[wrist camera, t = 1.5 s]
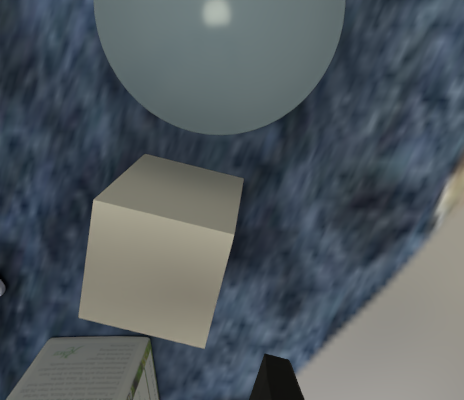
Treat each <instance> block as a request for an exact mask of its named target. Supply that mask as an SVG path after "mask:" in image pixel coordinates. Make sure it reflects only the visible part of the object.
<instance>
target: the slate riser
mask: <svg viewBox="0 0 464 400" xmlns="http://www.w3.org/2000/svg"><path fill="white" fill-rule="evenodd" d="M94 13H95V20H96V25H97V30H98V34H99V37H100V41H101V44H102V47H103V50H104V52H105V54H106V57H107V59H108V61H109V63H110V65H111V67H112V69H113V70H114V72H115V74H116V76H117V77H118V79H119V80H120V81H121V83H122V84H123V85H124V87H125V88H126V89H127V91H128V92H129V93H130V94H131V95H132V96H133V97H134V98H135V99H136V100H137V101H138V102H139V103H140V104H141V105H142V106H144V107H145V108H146V109H147V110H149V111H150V112H151V113H153V114H154V115H156V116H157V117H159V118H161V119H162V120H164V121H166V122H168V123H170V124H172V125H174V126H177V127H179V128H182V129H185V130H188V131H192V132H197V133H202V134H210V135H229V134H239V133H243V132H248V131H252V130H255V129H258V128H261V127H263V126H266V125H268V124H270V123H272V122H274V121H276V120H278V119H280V118H281V117H283V116H284V115H286V114H287V113H289V112H290V111H291V110H293V109H294V108H295V107H296V106H297V105H298V104H300V103H301V102H302V101H303V100H304V99H305V98H306V97H307V96H308V95H309V94H310V92H311V91H312V90H313V89H314V88H315V87H316V85H317V84H318V82H319V81H320V79H321V78H322V76H323V75H324V73H325V72H326V70H327V68H328V66H329V64H330V62H331V60H332V58H333V56H334V53H335V50H336V48H337V45H338V42H339V39H340V35H341V31H342V26H343V21H344V13H345V0H94Z"/></svg>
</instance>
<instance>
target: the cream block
mask: <svg viewBox="0 0 464 400" xmlns="http://www.w3.org/2000/svg"><path fill="white" fill-rule="evenodd" d="M243 181H244V178H240V177H236V176H232V175H228V174H224V173H220V172H216V171H212V170H208V169H204V168H200V167H196V166H192V165H188V164H184V163H180V162H176V161H172V160H168V159H164V158H160V157H156V156H152V155H148V154H144V155H143V156H142V157H141V158H140V159H139V160H137V161H136V162H135V163H134V164H133V165H132V166H131V167H130V168H128V169H127V170H126V171H125V172H124V173H123V174H122V175H121V176H119V177H118V178H117V179H116V180H115V181H114V182H113V183H112V184H111V185H109V186H108V187H107V188H106V189H105V190H104V191H103V192H102V193H100V194H99V195H98V196H97V197H96V198H95V199H94V200H93V207H92V215H91V223H90V231H89V239H88V246H87V254H86V262H85V270H84V277H83V285H82V293H81V301H80V309H79V316H78V318H81V319H85V320H89V321H94V322H98V323H102V324H106V325H110V326H114V327H118V328H122V329H126V330H130V331H134V332H138V333H142V334H146V335H150V336H155V337H159V338H163V339H167V340H171V341H175V342H179V343H183V344H187V345H191V346H195V347H199V348H203V349H204V348H205V345H206V341H207V337H208V333H209V329H210V326H211V322H212V318H213V314H214V310H215V307H216V303H217V299H218V295H219V291H220V288H221V284H222V280H223V276H224V272H225V269H226V265H227V261H228V257H229V253H230V250H231V246H232V242H233V238H234V234H235V228H236V222H237V217H238V211H239V205H240V199H241V193H242V187H243Z"/></svg>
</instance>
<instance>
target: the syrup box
mask: <svg viewBox="0 0 464 400" xmlns="http://www.w3.org/2000/svg"><path fill="white" fill-rule="evenodd" d="M6 400H160V397H159V391H158V385H157V379H156V373H155V367H154V361H153V354H152V347H151V342H150V339H149V338H148V337H133V336H107V337H103V336H100V337H60V338H50V339H49V340H48V341H47V342H46V344H45V345H44V346H43V348H42V349H41V351H40V352H39V353H38V355H37V356H36V358H35V359H34V361H33V362H32V364H31V365H30V367H29V368H28V369H27V371H26V372H25V373H24V375H23V376H22V378H21V379H20V381H19V382H18V383H17V385H16V386H15V388H14V389H13V390H12V392H11V393H10V394H9V396H8V397H7V399H6Z"/></svg>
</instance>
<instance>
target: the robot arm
mask: <svg viewBox="0 0 464 400" xmlns="http://www.w3.org/2000/svg"><path fill="white" fill-rule="evenodd" d="M4 292H5V285H4V284H3V282H2V281H1V280H0V296H1V295H2V294H3V293H4ZM249 400H304V397H303V395H302V392H301V389H300V387H299V385H298V382H297V379H296V376H295V373H294V371H293V368H292V365H291V363H290V361H289V360H288V359H284V358H280V357H276V356H272V355H269V354H264V357H263V360H262V363H261V366H260V369H259V372H258V375H257V378H256V381H255V384H254V387H253V390H252V393H251V396H250V398H249Z"/></svg>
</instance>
